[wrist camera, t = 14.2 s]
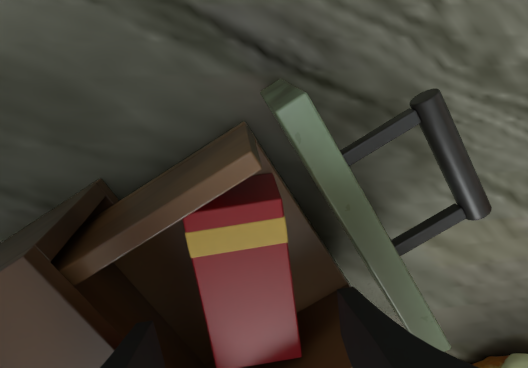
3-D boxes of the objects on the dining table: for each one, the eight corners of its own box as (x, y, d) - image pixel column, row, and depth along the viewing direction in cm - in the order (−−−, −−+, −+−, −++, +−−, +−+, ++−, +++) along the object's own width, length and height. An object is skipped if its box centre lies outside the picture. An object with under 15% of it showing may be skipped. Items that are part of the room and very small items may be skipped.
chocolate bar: (188, 185, 18) (180, 214, 15) (273, 171, 19) (282, 198, 15) (217, 323, 21) (215, 373, 18) (291, 311, 21) (303, 357, 18)
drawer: (370, 19, 18) (442, 4, 12) (468, 225, 22) (559, 291, 16) (68, 215, 20) (-2, 287, 14) (209, 373, 24) (203, 482, 18)
